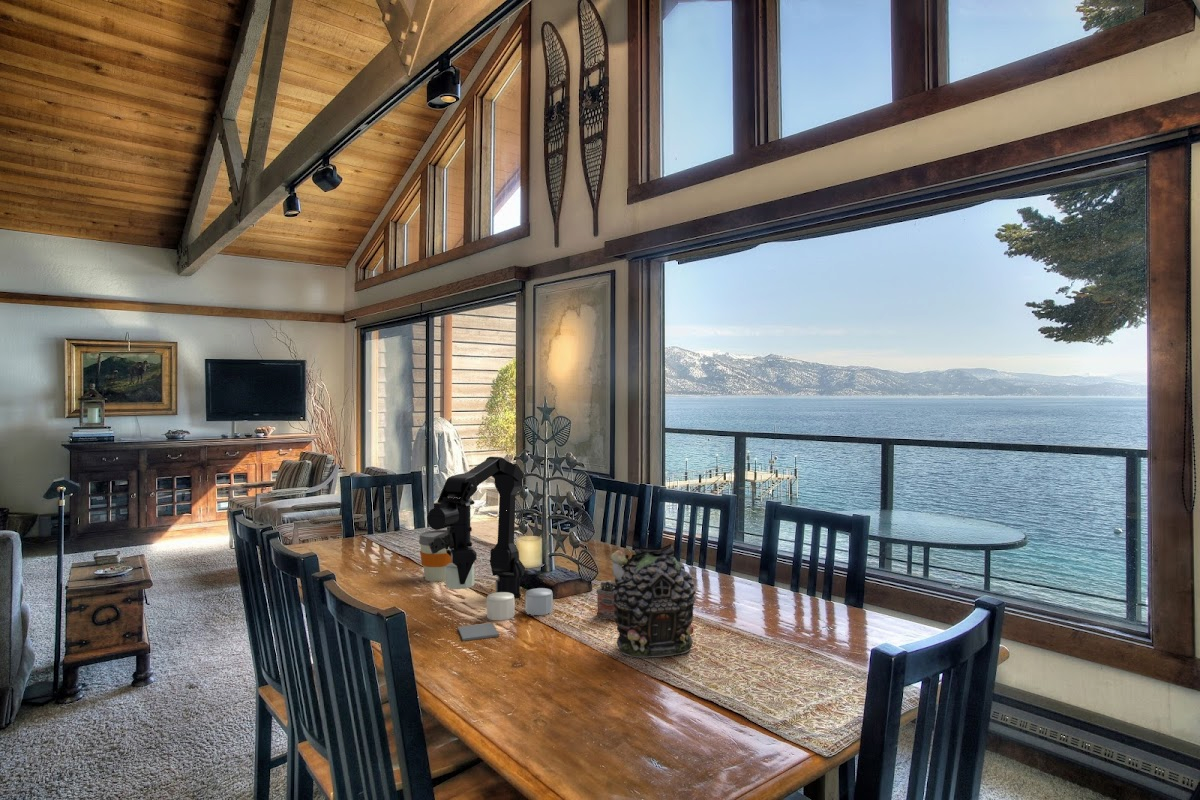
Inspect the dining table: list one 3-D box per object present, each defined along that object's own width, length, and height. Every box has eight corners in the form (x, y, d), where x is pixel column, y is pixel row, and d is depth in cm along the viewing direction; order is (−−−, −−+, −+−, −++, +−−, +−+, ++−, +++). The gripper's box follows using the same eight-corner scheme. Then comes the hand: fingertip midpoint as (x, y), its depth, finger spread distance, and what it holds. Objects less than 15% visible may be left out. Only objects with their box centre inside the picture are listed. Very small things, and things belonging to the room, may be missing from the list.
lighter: (594, 617, 182) (594, 580, 182) (600, 613, 185) (600, 577, 185) (620, 621, 178) (620, 584, 178) (626, 617, 181) (626, 581, 181)
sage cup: (471, 580, 184) (471, 560, 184) (476, 587, 177) (475, 566, 177) (444, 582, 182) (444, 562, 182) (447, 590, 175) (447, 569, 175)
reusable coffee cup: (416, 575, 226) (416, 531, 226) (453, 571, 231) (452, 528, 231) (423, 585, 214) (422, 538, 214) (461, 580, 220) (461, 535, 219)
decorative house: (622, 666, 149) (621, 555, 148) (604, 642, 163) (603, 541, 163) (707, 656, 154) (707, 549, 154) (682, 633, 169) (682, 536, 168)
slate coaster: (492, 624, 176) (492, 622, 176) (498, 636, 168) (498, 634, 168) (458, 629, 173) (458, 626, 173) (463, 641, 164) (462, 638, 164)
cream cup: (511, 610, 188) (510, 591, 188) (516, 618, 181) (516, 598, 181) (485, 613, 186) (484, 593, 186) (489, 621, 179) (489, 601, 179)
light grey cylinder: (548, 605, 192) (548, 587, 192) (555, 613, 185) (555, 594, 185) (523, 608, 189) (523, 589, 189) (529, 616, 182) (529, 597, 182)
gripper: (426, 519, 186) (426, 574, 186) (432, 531, 168) (433, 593, 168) (466, 516, 189) (466, 570, 189) (476, 528, 172) (477, 588, 172)
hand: (460, 580), depth 180 cm, fingers closed on sage cup, 7 cm apart
